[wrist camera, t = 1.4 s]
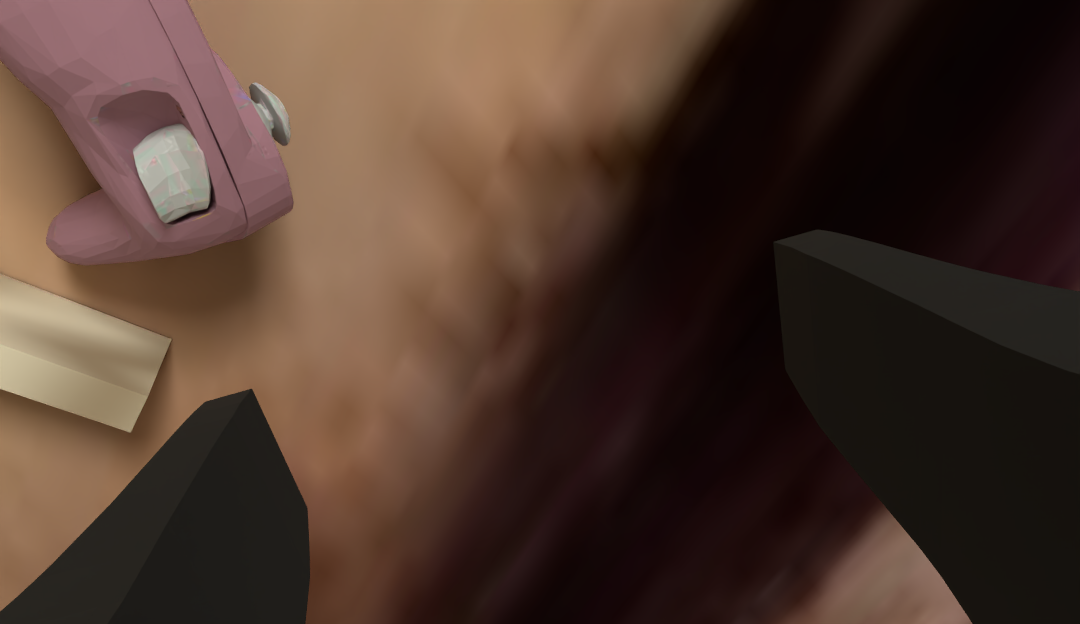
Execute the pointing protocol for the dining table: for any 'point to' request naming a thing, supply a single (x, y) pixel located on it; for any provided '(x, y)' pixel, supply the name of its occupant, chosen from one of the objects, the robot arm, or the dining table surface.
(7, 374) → the bay
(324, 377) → the dining table surface
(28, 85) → the video game controller
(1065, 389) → the robot arm
